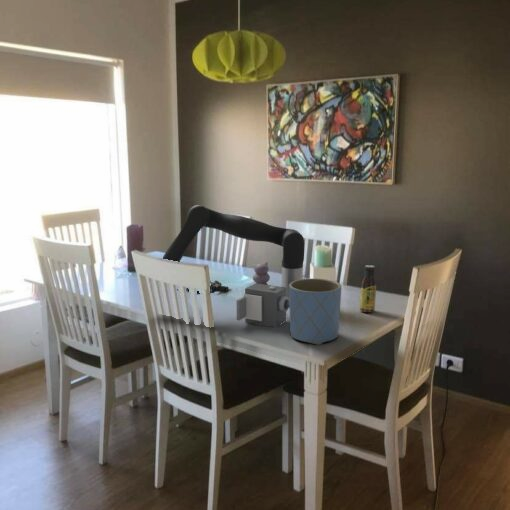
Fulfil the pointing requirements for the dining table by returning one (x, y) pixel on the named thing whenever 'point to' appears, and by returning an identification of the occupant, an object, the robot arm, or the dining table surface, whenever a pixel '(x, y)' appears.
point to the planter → (314, 310)
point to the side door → (249, 307)
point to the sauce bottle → (368, 290)
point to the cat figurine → (261, 273)
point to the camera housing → (270, 303)
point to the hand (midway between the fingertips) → (227, 289)
